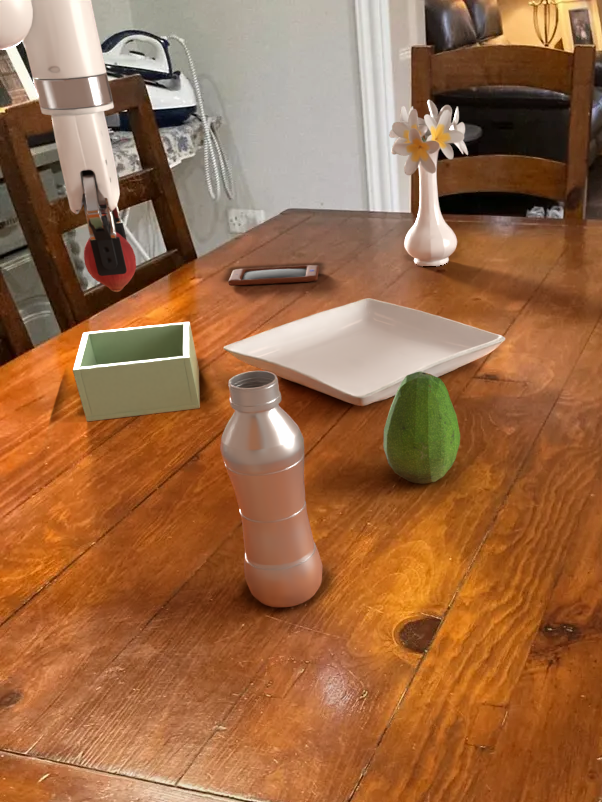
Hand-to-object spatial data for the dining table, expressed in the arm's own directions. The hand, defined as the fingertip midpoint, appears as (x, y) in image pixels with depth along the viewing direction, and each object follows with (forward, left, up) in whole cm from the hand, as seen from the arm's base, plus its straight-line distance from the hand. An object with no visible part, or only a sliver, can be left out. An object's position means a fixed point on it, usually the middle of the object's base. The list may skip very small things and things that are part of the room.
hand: (114, 264), depth 111 cm
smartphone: (+20, +47, -17) cm, 53 cm away
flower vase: (+48, +47, -17) cm, 69 cm away
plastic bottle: (+14, -50, -17) cm, 55 cm away
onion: (0, 0, -3) cm, 3 cm away
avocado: (+30, -32, -17) cm, 47 cm away
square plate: (+29, +2, -17) cm, 34 cm away
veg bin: (0, +1, -17) cm, 17 cm away
